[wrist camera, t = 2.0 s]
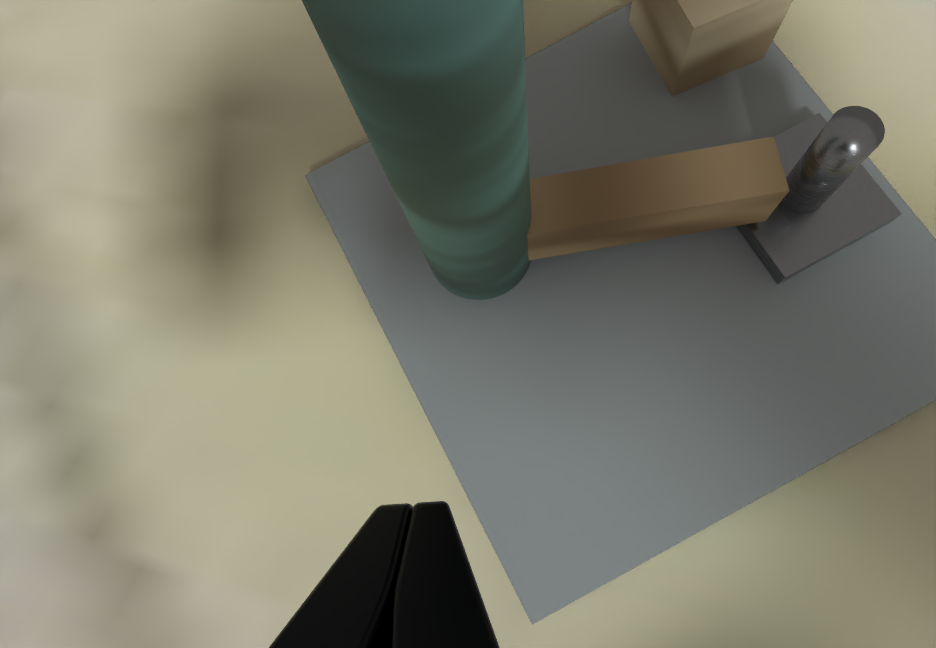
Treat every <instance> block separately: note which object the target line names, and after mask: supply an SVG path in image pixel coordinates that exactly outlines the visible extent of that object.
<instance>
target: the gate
mask: <svg viewBox="0 0 936 648" xmlns="http://www.w3.org/2000/svg"><path fill="white" fill-rule="evenodd" d="M302 1H303V4H304V6H305V8H306V10H307V12H308V14H309V16H310V18H311V20H312V22H313V24H314V26H315V29H316V31H317V33H318V35H319V37H320V39H321V41H322V43H323V45H324V47H325V49H326V51H327V53H328V56H329V58H330V60H331V62H332V64H333V66H334V68H335V70H336V72H337V74H338V76H339V78H340V80H341V83H342V85H343V87H344V89H345V91H346V93H347V95H348V97H349V99H350V101H351V103H352V105H353V108H354V110H355V112H356V114H357V116H358V118H359V120H360V122H361V124H362V126H363V128H364V130H365V132H366V135H367V137H368V139H369V141H370V143H371V145H372V147H373V149H374V151H375V153H376V155H377V157H378V160H379V162H380V164H381V166H382V168H383V170H384V172H385V174H386V176H387V178H388V180H389V182H390V184H391V187H392V189H393V191H394V193H395V195H396V197H397V199H398V201H399V203H400V205H401V207H402V209H403V211H404V214H405V216H406V218H407V220H408V222H409V224H410V226H411V228H412V230H413V232H414V234H415V236H416V239H417V241H418V243H419V245H420V247H421V249H422V251H423V253H424V255H425V257H426V259H427V261H428V263H429V266H430V268H431V270H432V272H433V274H434V276H435V277H436V279H437V280H438V281H439V283H440V284H441V285H442V286H443V287H445V288H446V289H447V290H448V291H450V292H452V293H453V294H455V295H457V296H460V297H463V298H466V299H473V300H483V299H490V298H494V297H497V296H500V295H502V294H504V293H506V292H508V291H509V290H511V289H512V288H513V287H515V286H516V285H517V284H518V283H519V282H520V280H521V279H522V278H523V277H524V275H525V274H526V272H527V270H528V268H529V265H530V262H531V260H534V259H540V258H546V257H552V256H558V255H564V254H570V253H576V252H582V251H588V250H594V249H600V248H606V247H612V246H618V245H624V244H630V243H636V242H642V241H648V240H654V239H660V238H666V237H672V236H678V235H684V234H690V233H696V232H702V231H708V230H714V229H720V228H726V227H732V226H738V225H744V224H750V223H756V222H762V221H766V220H767V218H768V217H769V216H770V214H771V213H772V212H773V211H774V209H775V208H776V207H777V206H778V204H779V203H780V202H781V201H782V199H783V198H784V197H785V196H786V194H787V193H788V192H789V187H788V184H787V180H786V177H785V174H784V170H783V167H782V164H781V160H780V157H779V154H778V150H777V147H776V143H775V140H774V137H773V136H772V137H767V138H761V139H755V140H749V141H744V142H738V143H732V144H727V145H721V146H715V147H709V148H704V149H698V150H692V151H687V152H681V153H675V154H670V155H664V156H658V157H652V158H647V159H641V160H635V161H630V162H624V163H618V164H612V165H607V166H601V167H595V168H590V169H584V170H578V171H573V172H567V173H561V174H555V175H550V176H544V177H538V178H533V179H530V172H529V147H528V122H527V97H526V72H525V47H524V22H523V0H302Z"/></svg>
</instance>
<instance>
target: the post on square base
mask: <svg viewBox="0 0 936 648" xmlns="http://www.w3.org/2000/svg"><path fill="white" fill-rule="evenodd" d="M884 133H885V129H884V125H883V122H882V120H881V119H880V118H879V116H878V115H877V114H875V113H874V112H873V111H871V110H869V109H867V108H864V107H860V106H849V107H845V108H842V109H840V110H838V111H837V112H836V113H835V114H834V115H833V116H832V117H831V118H830V120H829V121H828V122H827V121H826V120H825V119H824V118H823V116H822V115H821V114H820V113H818V114H816V115H814V116H812V117H810V118H809V119H807V120H805V121H803V122H801V123H799V124H797V125H796V126H794V127H792V128H790V129H788V130H786V131H784V132H783V133H781V134H779V135H777V136H775V137H774V140H775V143H776V147H777V150H778V154H779V157H780V160H781V164H782V167H783V170H784V174H785V177H786V180H787V184H788V187H789V192H788V193H787V194H786V196H785V197H784V198H783V199H782V201H781V202H780V203H779V204H778V206H777V207H776V208H775V209H774V211H773V212H772V213H771V214H770V216H769V217H768V218H767V220H766V221H762V222H756V223H750V224H744V225H738V226H736V228H737V229H738V230H739V232H740V233H741V235H742V236H743V237H744V239H745V240H746V242H747V243H748V244H749V246H750V247H751V248H752V250H753V251H754V253H755V254H756V255H757V257H758V258H759V260H760V261H761V262H762V264H763V265H764V267H765V268H766V269H767V271H768V272H769V273H770V275H771V276H772V278H773V279H774V280H775V282H776V283H777V285H778V284H780V283H781V282H783V281H785V280H787V279H789V278H791V277H792V276H794V275H796V274H798V273H800V272H802V271H803V270H805V269H807V268H809V267H811V266H813V265H814V264H816V263H818V262H820V261H822V260H823V259H825V258H827V257H829V256H831V255H833V254H834V253H836V252H838V251H840V250H842V249H844V248H845V247H847V246H849V245H851V244H853V243H855V242H856V241H858V240H860V239H862V238H864V237H866V236H867V235H869V234H871V233H873V232H875V231H877V230H878V229H880V228H882V227H884V226H886V225H888V224H889V223H891V222H892V221H894V220H895V219H896V218H897V217H899V216H900V215H901V214H902V213H901V212H900V211H899V210H898V208H897V207H896V206H895V205H894V204H893V202H892V201H891V200H890V199H889V197H888V196H887V195H886V194H885V192H884V191H883V190H882V189H881V188H880V186H879V185H878V184H877V183H876V181H875V180H874V179H873V178H872V176H871V175H870V174H869V173H868V172H867V170H866V169H865V168H864V167H863V165H862V164H861V163H862V162H863V161H864V160H865V159H866V158H867V157H868V156H869V155H870V154H871V153H872V152H873V151H874V150H875V149H876V148H877V147H878V146H879V144H880V143H881V142H882V140H883V138H884Z"/></svg>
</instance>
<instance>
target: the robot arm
mask: <svg viewBox="0 0 936 648" xmlns="http://www.w3.org/2000/svg"><path fill="white" fill-rule="evenodd" d="M269 648H499V645H498V642H497V639H496V636H495V634H494V631H493V628H492V625H491V622H490V620H489V617H488V614H487V611H486V608H485V606H484V603H483V600H482V597H481V594H480V591H479V589H478V586H477V583H476V580H475V577H474V575H473V572H472V569H471V566H470V563H469V561H468V558H467V555H466V552H465V549H464V547H463V544H462V541H461V538H460V535H459V533H458V530H457V527H456V524H455V521H454V519H453V516H452V513H451V510H450V508H449V505H448V504H447V503H446V502H444V501H438V502H422V503H417V504H415V505H414V507H413V506H412V505H410V504H391V505H381V506H379V507H378V508H376V509H375V511H374V512H373V513H372V514H371V516H370V517H369V518H368V520H367V521H366V522H365V523H364V525H363V526H362V527H361V529H360V530H359V531H358V533H357V534H356V535H355V536H354V538H353V539H352V540H351V542H350V543H349V544H348V546H347V547H346V548H345V549H344V551H343V552H342V553H341V555H340V556H339V557H338V559H337V560H336V561H335V562H334V564H333V565H332V566H331V568H330V569H329V570H328V572H327V573H326V574H325V575H324V577H323V578H322V579H321V581H320V582H319V583H318V585H317V586H316V587H315V588H314V590H313V591H312V592H311V594H310V595H309V596H308V597H307V599H306V600H305V601H304V603H303V604H302V605H301V607H300V608H299V609H298V610H297V612H296V613H295V614H294V616H293V617H292V618H291V620H290V621H289V622H288V623H287V625H286V626H285V627H284V629H283V630H282V631H281V633H280V634H279V635H278V636H277V638H276V639H275V640H274V642H273V643H272V644H271V646H270V647H269Z"/></svg>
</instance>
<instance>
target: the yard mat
mask: <svg viewBox="0 0 936 648" xmlns="http://www.w3.org/2000/svg"><path fill="white" fill-rule="evenodd" d="M631 5H632V3H630V4H628V5H626V6H624V7H622V8H620V9H618V10H616V11H615V12H613V13H611V14H609V15H607V16H605V17H603V18H601V19H599V20H598V21H596V22H594V23H592V24H590V25H588V26H586V27H584V28H582V29H580V30H579V31H577V32H575V33H573V34H571V35H569V36H567V37H565V38H563V39H562V40H560V41H558V42H556V43H554V44H552V45H550V46H548V47H546V48H545V49H543V50H541V51H539V52H537V53H535V54H533V55H531V56H529V57H528V58H526V59H525V72H526V97H527V122H528V147H529V172H530V179H533V178H538V177H544V176H550V175H555V174H561V173H567V172H573V171H578V170H584V169H590V168H595V167H601V166H607V165H612V164H618V163H624V162H630V161H635V160H641V159H647V158H652V157H658V156H664V155H670V154H675V153H681V152H687V151H692V150H698V149H704V148H709V147H715V146H721V145H727V144H732V143H738V142H744V141H749V140H755V139H761V138H767V137H772V136H773V137H775V136H777V135H779V134H781V133H783V132H784V131H786V130H788V129H790V128H792V127H794V126H796V125H797V124H799V123H801V122H803V121H805V120H807V119H809V118H810V117H812V116H814V115H816V114H818V113H820V114H821V115H822V116H823V118H824V119H825V120H826V121H827V122H828V121H829V120H830V118H831V117H832V116H833V114H832V113H831V111H830V110H829V109H828V108H827V106H826V105H825V104H824V103H823V102H822V100H821V99H820V98H819V97H818V95H817V94H816V93H815V92H814V91H813V89H812V88H811V87H810V86H809V85H808V83H807V82H806V81H805V80H804V78H803V77H802V76H801V75H800V74H799V72H798V71H797V70H796V69H795V67H794V66H793V65H792V64H791V63H790V61H789V60H788V59H787V58H786V56H785V55H784V54H783V53H782V52H781V50H780V49H779V48H778V47H777V46H776V44H775V43H774V42H773V41H772V43H771V45H770V47H769V49H768V51H767V53H766V55H765V57H764V58H763V59H761V60H758V61H756V62H754V63H751V64H749V65H746V66H744V67H742V68H739V69H737V70H734V71H732V72H730V73H727V74H725V75H722V76H720V77H718V78H715V79H713V80H710V81H708V82H706V83H703V84H701V85H698V86H696V87H694V88H691V89H689V90H686V91H684V92H682V93H679V94H677V95H674V96H671V94H670V92H669V90H668V89H667V87H666V85H665V83H664V82H663V80H662V78H661V77H660V75H659V73H658V71H657V70H656V68H655V66H654V64H653V63H652V61H651V59H650V57H649V56H648V54H647V52H646V51H645V49H644V47H643V45H642V44H641V42H640V40H639V38H638V37H637V35H636V33H635V31H634V30H633V28H632V26H631V25H630V23H629V17H630V11H631ZM861 164H862V165H863V167H864V168H865V169H866V170H867V172H868V173H869V174H870V175H871V176H872V178H873V179H874V180H875V181H876V183H877V184H878V185H879V186H880V188H881V189H882V190H883V191H884V192H885V194H886V195H887V196H888V197H889V199H890V200H891V201H892V202H893V204H894V205H895V206H896V207H897V208H898V210H899V211H900V212H901V213H902V214H901V215H900V216H899V217H897V218H896V219H895V220H894V221H892V222H891V223H889V224H888V225H886V226H884V227H882V228H880V229H878V230H877V231H875V232H873V233H871V234H869V235H867V236H866V237H864V238H862V239H860V240H858V241H856V242H855V243H853V244H851V245H849V246H847V247H845V248H844V249H842V250H840V251H838V252H836V253H834V254H833V255H831V256H829V257H827V258H825V259H823V260H822V261H820V262H818V263H816V264H814V265H813V266H811V267H809V268H807V269H805V270H803V271H802V272H800V273H798V274H796V275H794V276H792V277H791V278H789V279H787V280H785V281H783V282H781V283H780V284H778V285H777V283H776V282H775V280H774V279H773V278H772V276H771V275H770V273H769V272H768V271H767V269H766V268H765V267H764V265H763V264H762V262H761V261H760V260H759V258H758V257H757V255H756V254H755V253H754V251H753V250H752V248H751V247H750V246H749V244H748V243H747V242H746V240H745V239H744V237H743V236H742V235H741V233H740V232H739V230H738V229H737V228H736V226H732V227H726V228H720V229H714V230H708V231H702V232H696V233H690V234H684V235H678V236H672V237H666V238H660V239H654V240H648V241H642V242H636V243H630V244H624V245H618V246H612V247H606V248H600V249H594V250H588V251H582V252H576V253H570V254H564V255H558V256H552V257H546V258H540V259H534V260H531V262H530V265H529V268H528V270H527V272H526V274H525V275H524V277H523V278H522V279H521V280H520V282H519V283H518V284H517V285H516V286H515V287H513V288H512V289H511V290H509V291H508V292H506V293H504V294H502V295H500V296H497V297H494V298H490V299H483V300H473V299H466V298H463V297H460V296H457V295H455V294H453V293H452V292H450V291H448V290H447V289H446V288H445V287H443V286H442V285H441V284H440V283H439V281H438V280H437V279H436V277H435V276H434V274H433V272H432V270H431V268H430V266H429V263H428V261H427V259H426V257H425V255H424V253H423V251H422V249H421V247H420V245H419V243H418V241H417V239H416V236H415V234H414V232H413V230H412V228H411V226H410V224H409V222H408V220H407V218H406V216H405V214H404V211H403V209H402V207H401V205H400V203H399V201H398V199H397V197H396V195H395V193H394V191H393V189H392V187H391V184H390V182H389V180H388V178H387V176H386V174H385V172H384V170H383V168H382V166H381V164H380V162H379V160H378V157H377V155H376V153H375V151H374V149H373V147H372V145H371V143H370V141H369V142H367V143H365V144H363V145H361V146H359V147H357V148H355V149H354V150H352V151H350V152H348V153H346V154H344V155H342V156H340V157H338V158H336V159H335V160H333V161H331V162H329V163H327V164H325V165H323V166H321V167H319V168H318V169H316V170H314V171H312V172H310V173H308V174H306V175H305V177H306V179H307V181H308V183H309V184H310V186H311V188H312V190H313V192H314V194H315V196H316V198H317V200H318V202H319V204H320V206H321V208H322V210H323V212H324V214H325V216H326V218H327V220H328V222H329V224H330V226H331V228H332V230H333V232H334V234H335V236H336V238H337V240H338V242H339V244H340V246H341V248H342V250H343V252H344V254H345V256H346V258H347V260H348V262H349V264H350V265H351V267H352V269H353V271H354V273H355V275H356V277H357V279H358V281H359V283H360V285H361V287H362V289H363V291H364V293H365V295H366V297H367V299H368V301H369V303H370V305H371V307H372V309H373V311H374V313H375V315H376V317H377V319H378V321H379V323H380V325H381V327H382V329H383V331H384V333H385V335H386V337H387V339H388V341H389V343H390V345H391V346H392V348H393V350H394V352H395V354H396V356H397V358H398V360H399V362H400V364H401V366H402V368H403V370H404V372H405V374H406V376H407V378H408V380H409V382H410V384H411V386H412V388H413V390H414V392H415V394H416V396H417V398H418V400H419V402H420V404H421V406H422V408H423V410H424V412H425V414H426V416H427V418H428V420H429V422H430V424H431V425H432V427H433V429H434V431H435V433H436V435H437V437H438V439H439V441H440V443H441V445H442V447H443V449H444V451H445V453H446V455H447V457H448V459H449V461H450V463H451V465H452V467H453V469H454V471H455V473H456V475H457V477H458V479H459V481H460V483H461V485H462V487H463V489H464V491H465V493H466V495H467V497H468V499H469V501H470V503H471V505H472V506H473V508H474V510H475V512H476V514H477V516H478V518H479V520H480V522H481V524H482V526H483V528H484V530H485V532H486V534H487V536H488V538H489V540H490V542H491V544H492V546H493V548H494V550H495V552H496V554H497V556H498V558H499V560H500V562H501V564H502V566H503V568H504V570H505V572H506V574H507V576H508V578H509V580H510V582H511V584H512V586H513V587H514V589H515V591H516V593H517V595H518V597H519V599H520V601H521V603H522V605H523V607H524V609H525V611H526V613H527V615H528V617H529V619H530V621H531V623H532V624H534V623H536V622H537V621H539V620H541V619H543V618H545V617H546V616H548V615H550V614H552V613H554V612H555V611H557V610H559V609H561V608H563V607H564V606H566V605H568V604H570V603H572V602H573V601H575V600H577V599H579V598H581V597H582V596H584V595H586V594H588V593H590V592H591V591H593V590H595V589H597V588H599V587H600V586H602V585H604V584H606V583H608V582H609V581H611V580H613V579H615V578H617V577H618V576H620V575H622V574H624V573H626V572H627V571H629V570H631V569H633V568H635V567H636V566H638V565H640V564H642V563H644V562H645V561H647V560H649V559H651V558H653V557H654V556H656V555H658V554H660V553H662V552H663V551H665V550H667V549H669V548H671V547H672V546H674V545H676V544H678V543H680V542H681V541H683V540H685V539H687V538H689V537H690V536H692V535H694V534H696V533H698V532H699V531H701V530H703V529H705V528H707V527H708V526H710V525H712V524H714V523H715V522H717V521H719V520H721V519H723V518H724V517H726V516H728V515H730V514H732V513H733V512H735V511H737V510H739V509H741V508H742V507H744V506H746V505H748V504H750V503H751V502H753V501H755V500H757V499H759V498H760V497H762V496H764V495H766V494H768V493H769V492H771V491H773V490H775V489H777V488H778V487H780V486H782V485H784V484H786V483H787V482H789V481H791V480H793V479H795V478H796V477H798V476H800V475H802V474H804V473H805V472H807V471H809V470H811V469H813V468H814V467H816V466H818V465H820V464H822V463H823V462H825V461H827V460H829V459H831V458H832V457H834V456H836V455H838V454H840V453H841V452H843V451H845V450H847V449H849V448H850V447H852V446H854V445H856V444H858V443H859V442H861V441H863V440H865V439H867V438H868V437H870V436H872V435H874V434H876V433H877V432H879V431H881V430H883V429H885V428H886V427H888V426H890V425H892V424H894V423H895V422H897V421H899V420H901V419H903V418H904V417H906V416H908V415H910V414H911V413H913V412H915V411H917V410H919V409H920V408H922V407H924V406H926V405H928V404H929V403H931V402H933V401H935V400H936V239H935V238H934V237H933V236H932V234H931V233H930V232H929V231H928V230H927V228H926V227H925V226H924V225H923V223H922V222H921V221H920V220H919V219H918V217H917V216H916V215H915V214H914V212H913V211H912V210H911V209H910V208H909V206H908V205H907V204H906V203H905V201H904V200H903V199H902V198H901V197H900V195H899V194H898V193H897V192H896V191H895V189H894V188H893V187H892V186H891V184H890V183H889V182H888V181H887V180H886V178H885V177H884V176H883V175H882V173H881V172H880V171H879V170H878V169H877V167H876V166H875V165H874V164H873V162H872V161H871V160H870V159H869V158H868V157H867V158H866V159H865V160H864V161H863V162H862V163H861Z"/></svg>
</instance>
